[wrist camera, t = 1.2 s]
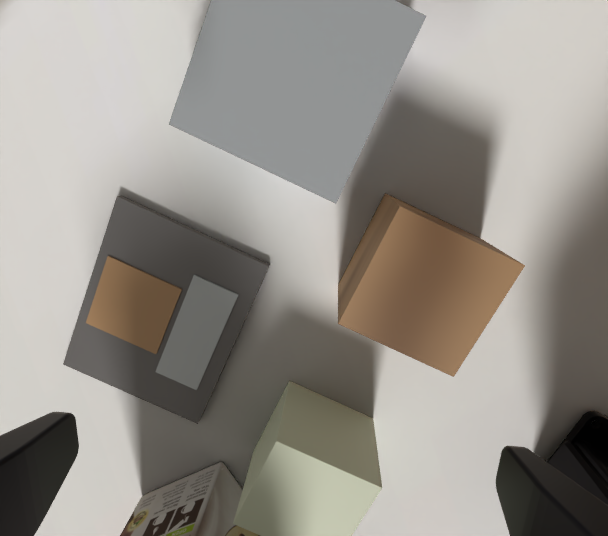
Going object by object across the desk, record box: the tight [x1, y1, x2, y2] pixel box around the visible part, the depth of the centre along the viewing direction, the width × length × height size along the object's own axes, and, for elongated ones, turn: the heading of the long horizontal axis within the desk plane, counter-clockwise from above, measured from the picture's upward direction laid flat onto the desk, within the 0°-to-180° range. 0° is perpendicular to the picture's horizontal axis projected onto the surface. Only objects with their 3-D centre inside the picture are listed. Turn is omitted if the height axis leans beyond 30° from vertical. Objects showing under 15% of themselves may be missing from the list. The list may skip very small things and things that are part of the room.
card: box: [63, 196, 270, 424], centre depth 22 cm, size 8×10×1 cm
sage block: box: [233, 381, 382, 536], centre depth 21 cm, size 5×5×5 cm
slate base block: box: [169, 0, 426, 203], centre depth 17 cm, size 7×7×4 cm
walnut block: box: [338, 193, 525, 377], centre depth 18 cm, size 5×5×5 cm
